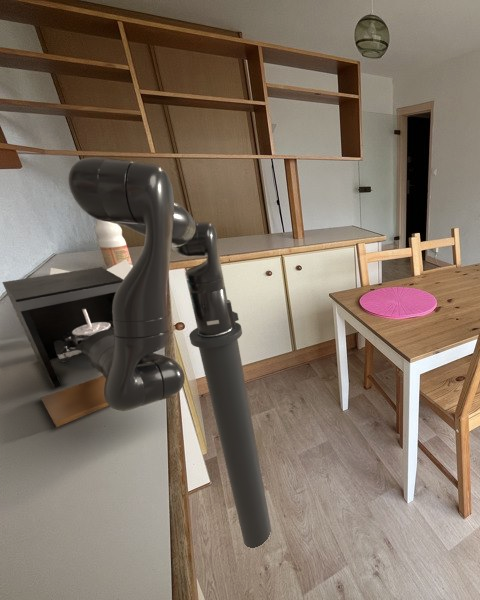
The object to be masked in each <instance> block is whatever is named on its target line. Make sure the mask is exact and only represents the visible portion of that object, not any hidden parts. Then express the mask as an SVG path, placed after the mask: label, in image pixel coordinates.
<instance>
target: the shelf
mask: <svg viewBox="0 0 480 600" xmlns="http://www.w3.org/2000/svg"><path fill="white" fill-rule="evenodd" d="M122 281H123V279H122V278H120V277H118V276H116V275H115V274H113V273H111V272H109V271H107V268H106V269H105V268H104V267H102V266H99V267H92V268H86V269H80V270H73V271H71V272H65V273H59V274H52V275H50V274H46V275H40V276H33V277H27V278H21V279H14V280H8V281H2V286H3V287H4V289H5V292H6V294H7V296H8V298H9V301H10V302H11V304H12V307H13V309H14V311H15V313H16V316H17V318H18V320H19V322H20V324H21V326H22V328H23V331H24V333H25V336H26V338H27V340H28V342H29V344H30V346H31V348H32V351H33V353H34V355H35V357H36V360H37V362H38V363H39V366H40V367H41V368H42V370H43V371H44V373H45V375H46V376H47V379H49V381H50V382H51V385H52V386H53V388H54V389H56V388H60V387H62V384H61V382H60V380H59V377H58V375H57V372H56V370H55V368H54V366H53V363H52V360H56V359H59V357H58V355H57V353H56V350H55V346H54V342H55V341H58V340H62V341H64V339H63V335H65V334H66V333H65V332H69V331H70V332H71V333H72V331H73V330H74V329H76V328H78V327H80V326H83V325H87V321H86V319H85V316H84V313H83V309H86V311H87V314H88V317H89V319H90V322H91V323H97V322H108V321H112V322H113V317H112V304H113V299H114V296H115V293H116V291H117V289H118V287H119V286H120V284H121V283H122Z"/></svg>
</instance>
